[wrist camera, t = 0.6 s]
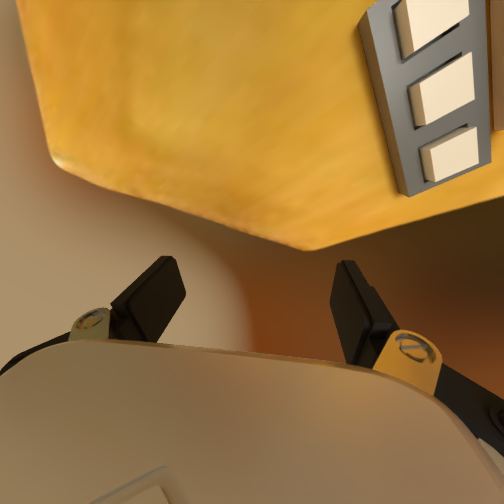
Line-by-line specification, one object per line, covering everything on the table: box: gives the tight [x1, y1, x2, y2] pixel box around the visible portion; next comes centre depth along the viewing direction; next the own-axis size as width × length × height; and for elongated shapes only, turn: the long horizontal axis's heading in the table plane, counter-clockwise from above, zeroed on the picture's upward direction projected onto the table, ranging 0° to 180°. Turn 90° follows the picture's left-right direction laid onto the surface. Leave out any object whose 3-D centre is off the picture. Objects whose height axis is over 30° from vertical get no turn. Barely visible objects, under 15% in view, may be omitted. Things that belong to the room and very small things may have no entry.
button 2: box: [418, 127, 479, 182], centre depth 26 cm, size 5×5×3 cm
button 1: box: [392, 0, 469, 60], centre depth 20 cm, size 5×5×3 cm
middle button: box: [407, 52, 475, 126], centre depth 23 cm, size 5×5×3 cm
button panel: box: [358, 0, 504, 197], centre depth 21 cm, size 24×14×11 cm, turn 31°
